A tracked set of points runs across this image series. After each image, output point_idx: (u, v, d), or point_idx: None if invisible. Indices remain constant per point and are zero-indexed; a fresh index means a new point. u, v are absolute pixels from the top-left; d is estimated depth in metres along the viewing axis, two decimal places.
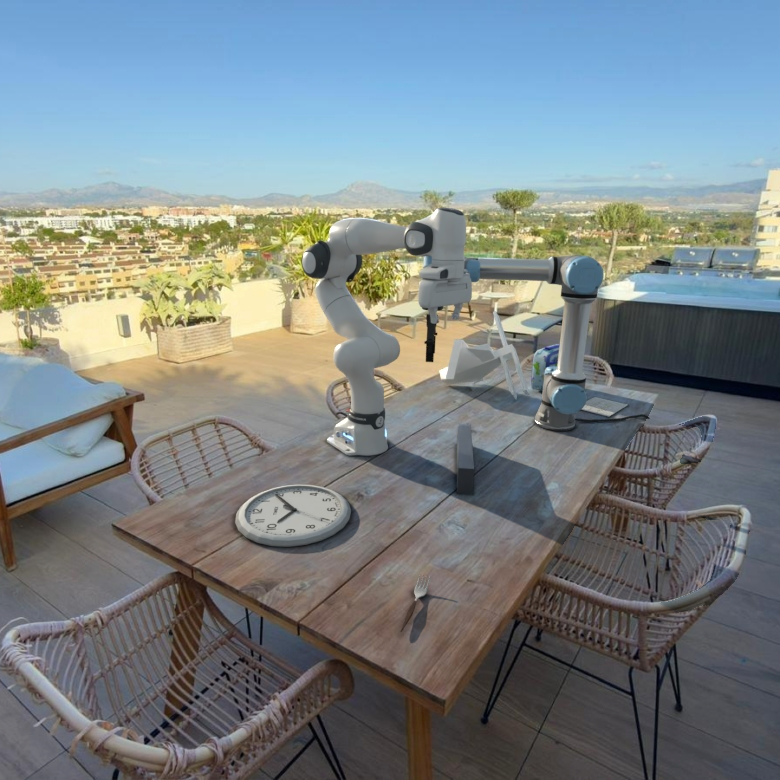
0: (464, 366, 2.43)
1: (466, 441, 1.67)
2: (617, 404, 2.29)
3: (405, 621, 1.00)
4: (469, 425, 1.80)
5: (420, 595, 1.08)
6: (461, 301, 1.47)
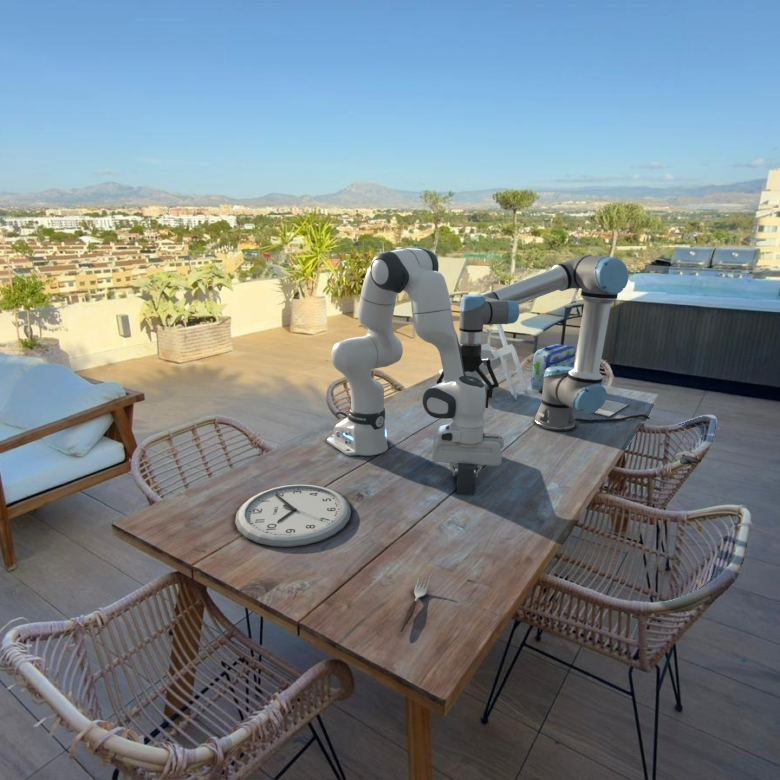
0: None
1: None
2: (617, 404, 2.29)
3: (405, 621, 1.00)
4: None
5: (420, 595, 1.08)
6: (482, 463, 1.50)
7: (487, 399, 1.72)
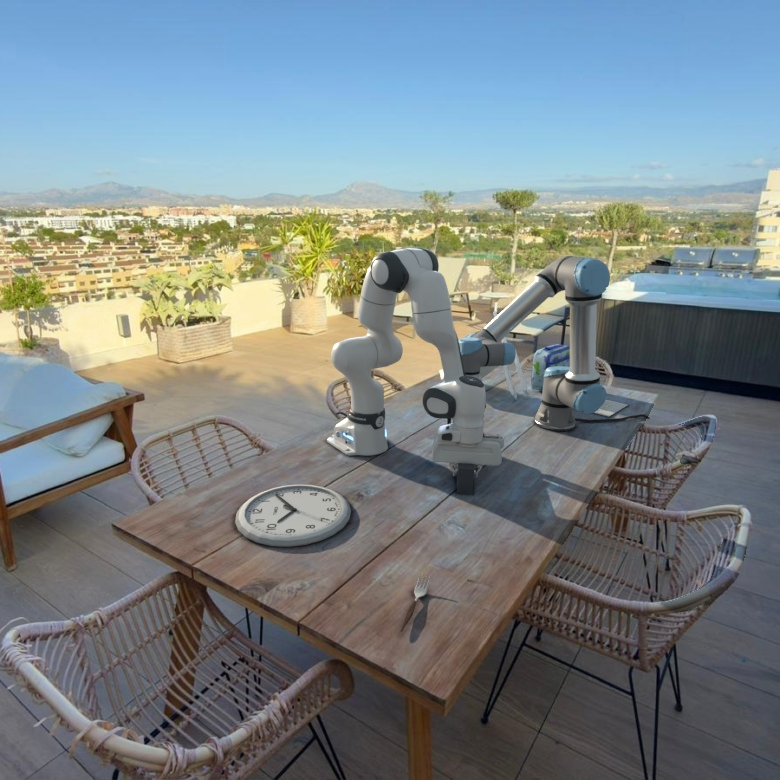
0: None
1: None
2: (617, 404, 2.29)
3: (405, 621, 1.00)
4: None
5: (420, 595, 1.08)
6: (482, 463, 1.50)
7: None
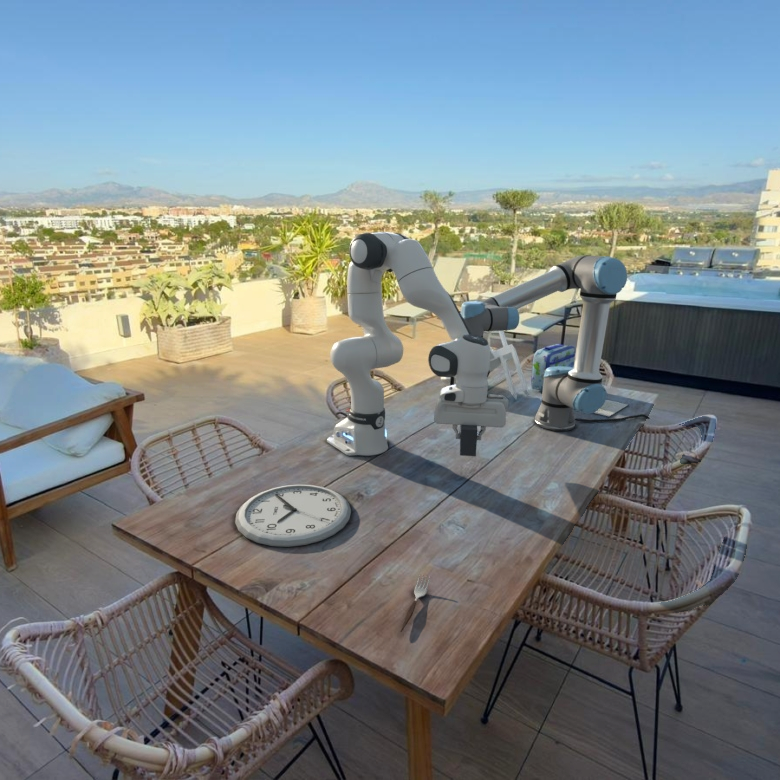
0: None
1: None
2: (617, 404, 2.29)
3: (405, 621, 1.00)
4: None
5: (420, 595, 1.08)
6: (486, 425, 1.47)
7: None
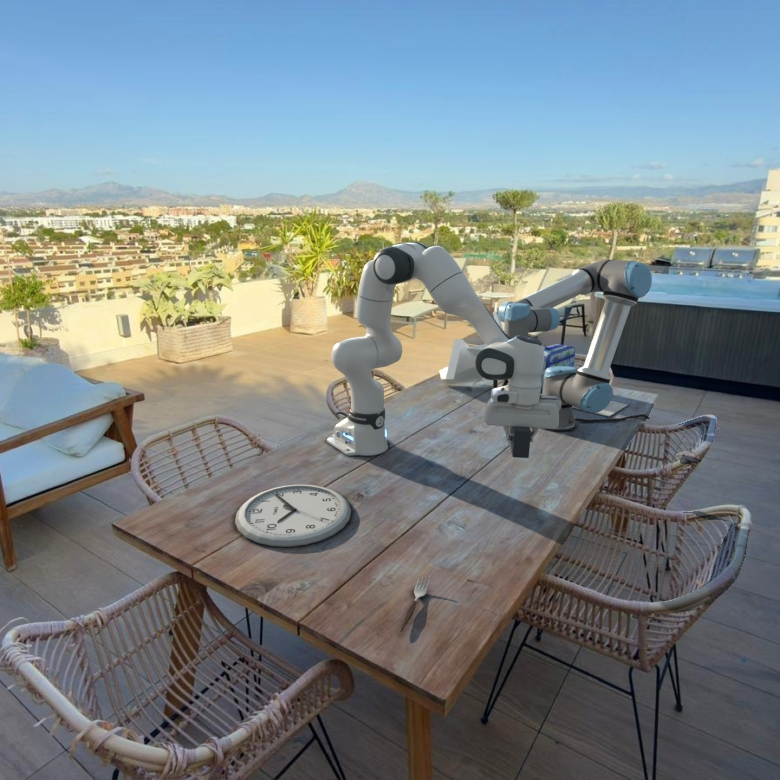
0: (464, 366, 2.43)
1: None
2: (617, 404, 2.29)
3: (405, 621, 1.00)
4: None
5: (420, 595, 1.08)
6: (539, 426, 1.45)
7: None
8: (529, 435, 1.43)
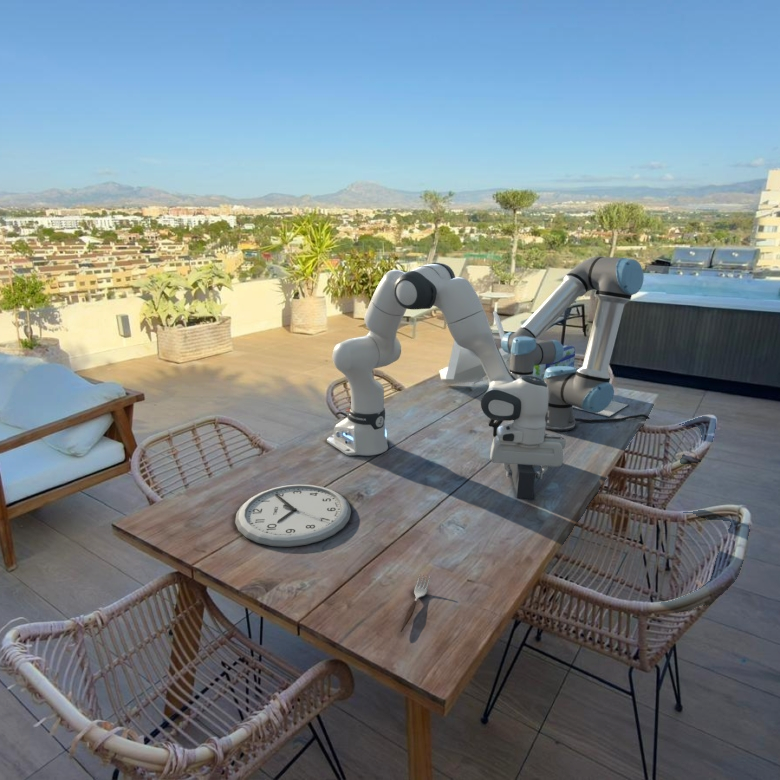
0: (464, 366, 2.43)
1: None
2: (617, 404, 2.29)
3: (405, 621, 1.00)
4: None
5: (420, 595, 1.08)
6: (543, 464, 1.48)
7: None
8: (533, 477, 1.46)
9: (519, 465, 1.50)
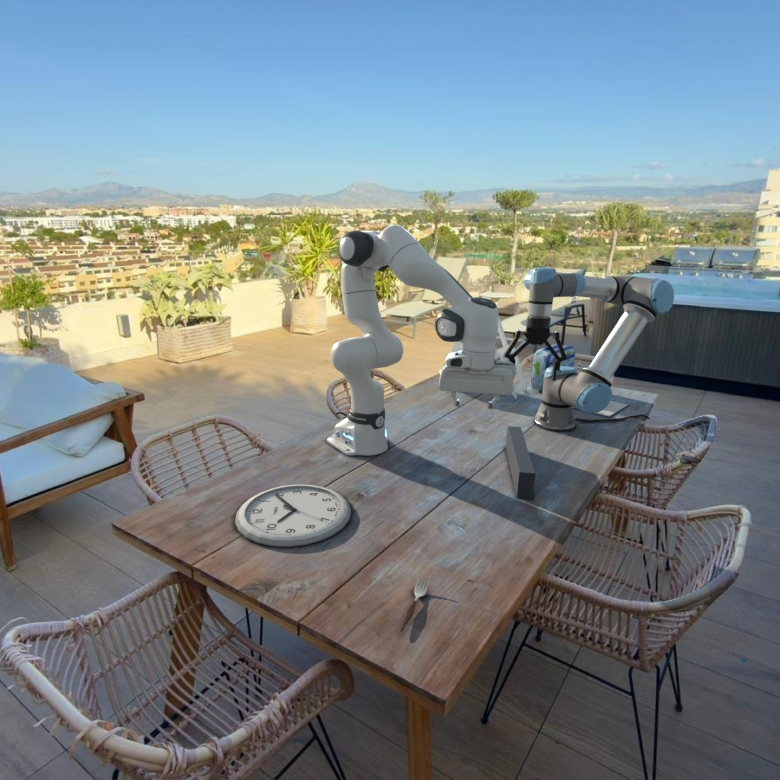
0: None
1: (520, 444, 1.65)
2: (617, 404, 2.29)
3: (405, 621, 1.00)
4: (519, 428, 1.78)
5: (420, 595, 1.08)
6: (493, 392, 1.42)
7: (555, 372, 1.74)
8: (533, 477, 1.46)
9: (519, 465, 1.50)
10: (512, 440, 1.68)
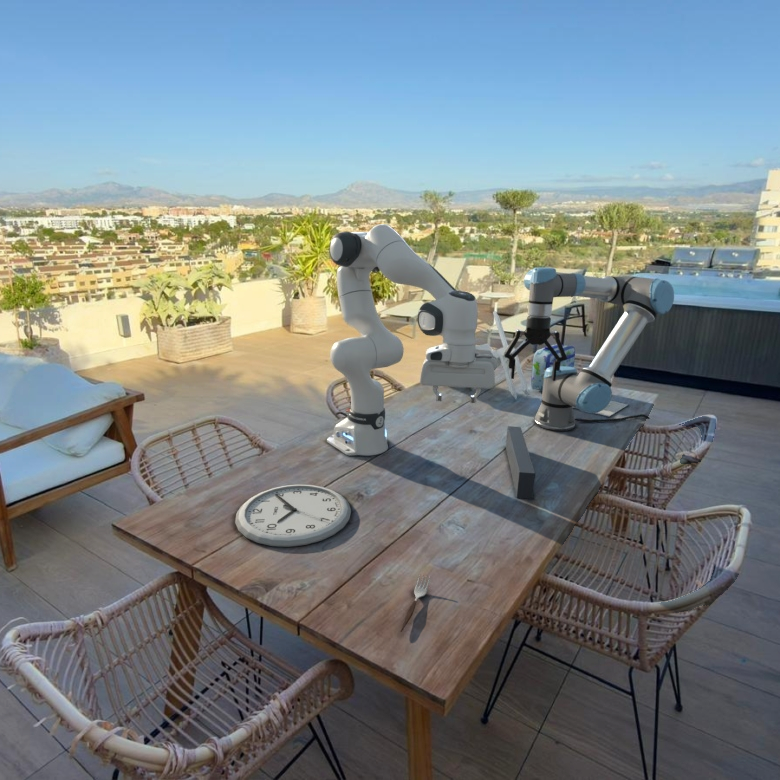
0: None
1: (520, 444, 1.65)
2: (617, 404, 2.29)
3: (405, 621, 1.00)
4: (519, 428, 1.78)
5: (420, 595, 1.08)
6: (474, 386, 1.41)
7: (555, 372, 1.74)
8: (533, 477, 1.46)
9: (519, 465, 1.50)
10: (512, 440, 1.68)
